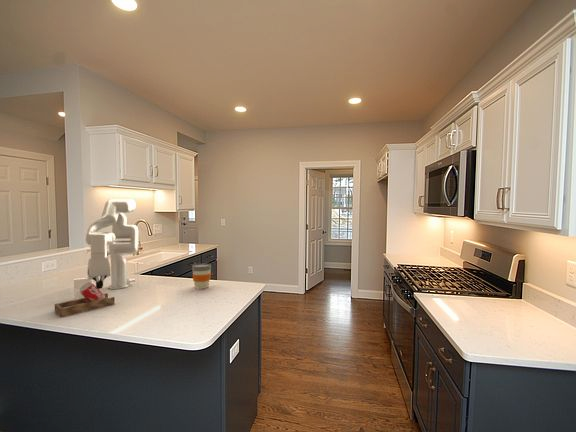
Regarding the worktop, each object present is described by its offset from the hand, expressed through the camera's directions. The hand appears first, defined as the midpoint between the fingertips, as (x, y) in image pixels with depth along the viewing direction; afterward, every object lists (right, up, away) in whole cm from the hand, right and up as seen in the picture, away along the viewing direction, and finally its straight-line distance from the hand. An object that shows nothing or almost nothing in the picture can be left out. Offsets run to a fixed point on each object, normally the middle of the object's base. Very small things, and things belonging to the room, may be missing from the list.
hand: (99, 288), depth 155 cm
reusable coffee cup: (+46, -9, +35) cm, 59 cm away
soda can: (0, -8, 0) cm, 8 cm away
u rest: (-4, -9, -5) cm, 11 cm away
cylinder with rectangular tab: (-17, -9, +11) cm, 22 cm away
